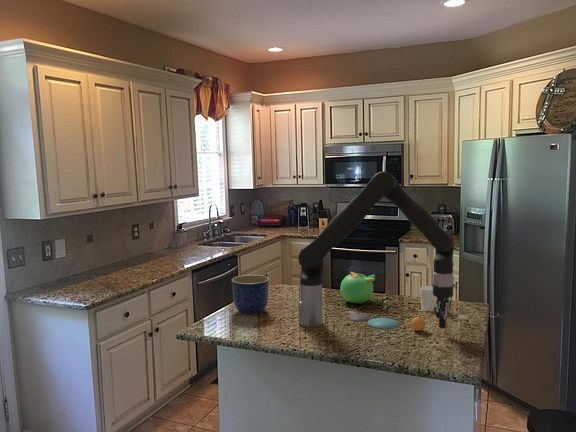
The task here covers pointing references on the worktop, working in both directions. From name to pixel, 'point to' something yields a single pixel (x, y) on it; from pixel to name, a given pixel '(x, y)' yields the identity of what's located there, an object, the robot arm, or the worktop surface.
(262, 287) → the planter
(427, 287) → the white cup
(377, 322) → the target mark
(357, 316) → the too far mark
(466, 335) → the worktop surface
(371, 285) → the toy bird
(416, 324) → the ball
